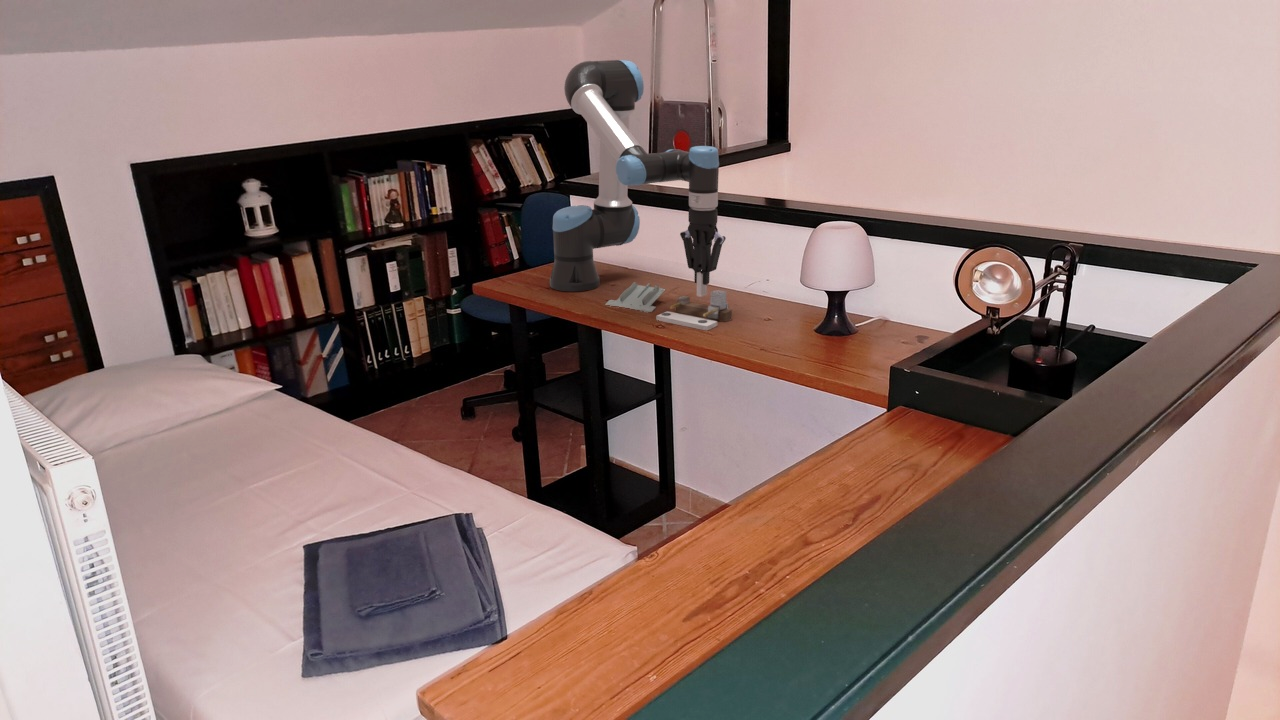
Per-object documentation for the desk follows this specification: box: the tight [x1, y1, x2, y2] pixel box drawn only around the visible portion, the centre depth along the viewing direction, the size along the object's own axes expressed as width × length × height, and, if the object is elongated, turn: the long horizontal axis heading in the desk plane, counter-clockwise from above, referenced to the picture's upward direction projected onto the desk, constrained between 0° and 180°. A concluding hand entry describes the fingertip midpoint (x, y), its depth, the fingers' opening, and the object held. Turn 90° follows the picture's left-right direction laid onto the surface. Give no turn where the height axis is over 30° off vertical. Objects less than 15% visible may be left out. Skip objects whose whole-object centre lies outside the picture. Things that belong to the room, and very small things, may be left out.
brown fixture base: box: [669, 295, 733, 323], centre depth 244 cm, size 16×7×4 cm, turn 53°
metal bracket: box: [604, 281, 666, 313], centre depth 257 cm, size 14×6×15 cm
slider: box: [703, 289, 729, 319], centre depth 240 cm, size 3×9×7 cm, turn 143°
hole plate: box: [655, 311, 718, 331], centre depth 240 cm, size 16×5×1 cm, turn 53°
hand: (701, 295), depth 244 cm, fingers closed
